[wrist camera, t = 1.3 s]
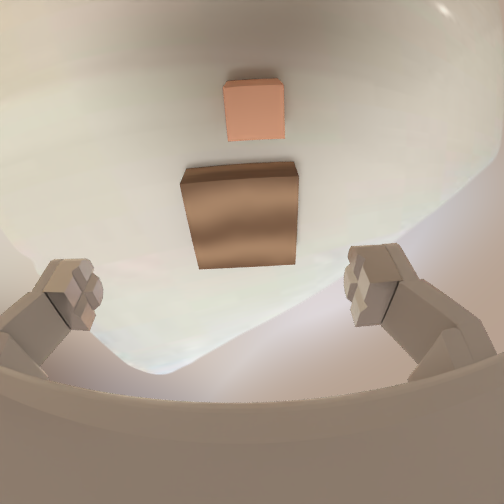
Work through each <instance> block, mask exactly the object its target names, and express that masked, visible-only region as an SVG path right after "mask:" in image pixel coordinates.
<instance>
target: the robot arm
mask: <svg viewBox="0 0 504 504" xmlns="http://www.w3.org/2000/svg"><path fill="white" fill-rule="evenodd" d="M348 259H349V262H350V264H349V265H348V266H347V267H346V268H345V273H344V289H345V294H346V297H347V299H348V300H350V301H351V302H352V305H351V309H350V311H351V314H352V317H353V321H354V324H355V327H360V326H370V325H381V324H382V325H381V326H382V327H383V328H384V329H385V330H386V331H387V332H388V333H389V334H390V336H392V337H393V339H394V340H395V341H396V342H397V343H398V344H399V345H400V346H401V347H402V348H403V349H404V350H405V351H406V352H407V353H408V354H409V355H410V356H411V357H412V358H413V359H414V360H415V362H416V363H417V364H418V366H417V367H416V368H415V370H414V371H413V372H412V373H411V375H410V376H409V378H408V383H404V384H400V385H395V386H391V387H386V388H381V389H376V390H370V391H365V392H358V393H352V394H346V395H339V396H331V397H323V398H314V399H303V400H292V401H276V402H252V403H210V402H188V401H187V402H186V401H173V400H172V401H171V400H161V399H151V398H142V397H133V396H126V395H119V394H113V393H107V392H101V391H95V390H90V389H85V388H80V387H75V386H71V385H66V384H62V383H58V382H54V381H50V380H47V379H48V376H47V374H46V373H45V372H44V371H43V370H42V369H41V368H40V366H41V365H42V364H43V363H44V361H45V360H46V359H47V358H48V356H49V355H50V354H51V353H52V352H53V351H54V350H55V348H56V347H57V346H58V345H59V344H60V343H61V342H62V340H63V339H64V338H65V337H66V336H67V335H68V333H69V332H70V331H71V330H83V331H90V329H91V326H92V324H93V321H94V319H95V316H96V314H95V311H94V310H95V309H96V308H97V307H98V306H99V305H100V304H101V301H102V299H103V287H102V283H101V281H100V279H99V277H97V276H96V275H95V274H94V273H93V270H94V267H93V265H92V263H91V261H90V260H88V259H54V260H52V261H50V263H49V264H48V266H47V268H46V269H45V271H44V272H43V274H42V275H41V277H40V279H39V280H38V282H37V283H36V285H35V287H34V288H33V290H32V292H28V293H27V294H25V295H24V296H23V297H22V298H20V299H19V300H18V301H17V302H16V303H14V304H13V305H12V306H11V307H10V308H8V309H7V310H6V311H5V312H4V313H3V314H1V315H0V504H504V352H502V353H500V354H497V353H496V351H495V349H494V347H493V344H492V342H491V340H490V338H489V336H488V334H487V332H486V330H485V328H484V326H483V324H482V322H481V320H480V319H478V318H477V317H476V316H474V315H473V314H472V313H470V312H469V311H468V310H466V309H465V308H464V307H462V306H461V305H460V304H458V303H457V302H455V301H454V300H453V299H451V298H450V297H448V296H447V295H446V294H444V293H443V292H441V291H440V290H439V289H437V288H436V287H434V286H433V285H431V284H430V283H429V282H427V281H425V280H424V279H419V278H418V276H417V274H416V272H415V271H414V269H413V267H412V265H411V264H410V262H409V260H408V259H407V257H406V255H405V253H404V252H403V250H402V248H401V247H400V245H399V244H397V243H390V244H382V245H363V246H351V247H350V249H349V253H348Z"/></svg>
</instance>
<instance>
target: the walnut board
mask: <svg viewBox="0 0 504 504" xmlns="http://www.w3.org/2000/svg"><path fill="white" fill-rule="evenodd" d="M180 187H181V192H182V197H183V202H184V206H185V211H186V215H187V220H188V224H189V229H190V233H191V237H192V242H193V246H194V250H195V254H196V258H197V262H198V266H199V269H217V268H237V267H257V266H275V265H293V264H295V259H296V240H297V217H298V188H299V175H298V173H297V170H296V167H295V164H294V162H268V163H249V164H234V165H221V166H210V167H199V168H189V169H186V171H185V173H184V176H183V178H182V180H181V183H180Z"/></svg>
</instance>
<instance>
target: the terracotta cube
mask: <svg viewBox="0 0 504 504" xmlns="http://www.w3.org/2000/svg"><path fill="white" fill-rule="evenodd" d="M223 94H224V105H225V115H226V126H227V136H228V141H242V140H259V139H285V120H284V85H283V83H282V82H281V81H280V80H279V79H278V78H273V79H249V80H234V81H227V82H226V83H225V85H224V87H223Z"/></svg>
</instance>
